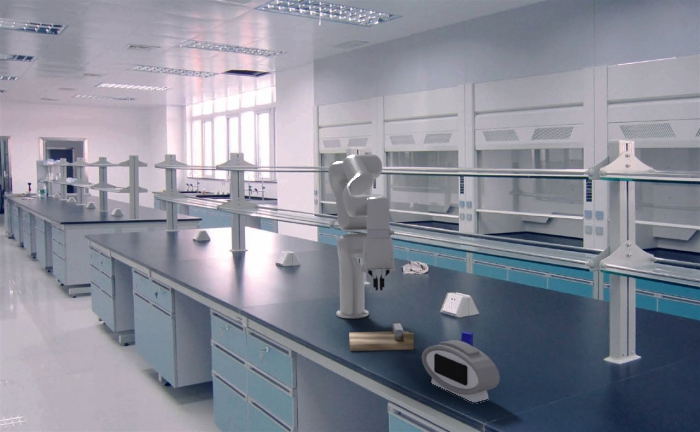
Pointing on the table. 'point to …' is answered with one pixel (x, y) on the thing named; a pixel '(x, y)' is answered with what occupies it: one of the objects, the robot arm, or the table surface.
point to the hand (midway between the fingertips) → (378, 289)
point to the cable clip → (467, 338)
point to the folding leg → (398, 331)
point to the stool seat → (379, 341)
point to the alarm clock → (461, 369)
